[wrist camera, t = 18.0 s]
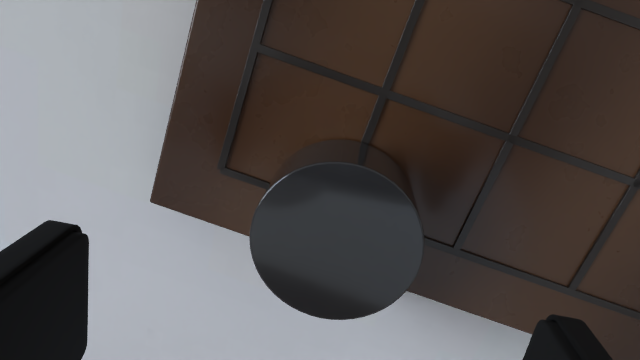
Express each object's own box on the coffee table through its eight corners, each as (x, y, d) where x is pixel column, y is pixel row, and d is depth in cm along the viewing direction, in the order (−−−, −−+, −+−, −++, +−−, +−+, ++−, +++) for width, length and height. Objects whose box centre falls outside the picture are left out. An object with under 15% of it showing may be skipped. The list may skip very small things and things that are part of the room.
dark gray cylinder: (236, 191, 16) (214, 222, 13) (360, 108, 14) (360, 126, 12) (321, 301, 17) (314, 346, 14) (444, 232, 15) (458, 269, 13)
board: (166, 187, 17) (147, 204, 16) (358, -604, 11) (357, -707, 9) (675, 364, 18) (703, 396, 16) (1160, -281, 11) (1285, -328, 10)
